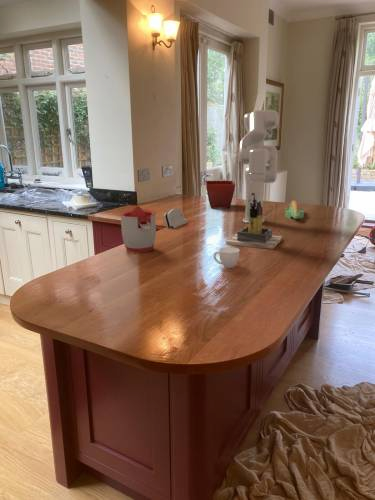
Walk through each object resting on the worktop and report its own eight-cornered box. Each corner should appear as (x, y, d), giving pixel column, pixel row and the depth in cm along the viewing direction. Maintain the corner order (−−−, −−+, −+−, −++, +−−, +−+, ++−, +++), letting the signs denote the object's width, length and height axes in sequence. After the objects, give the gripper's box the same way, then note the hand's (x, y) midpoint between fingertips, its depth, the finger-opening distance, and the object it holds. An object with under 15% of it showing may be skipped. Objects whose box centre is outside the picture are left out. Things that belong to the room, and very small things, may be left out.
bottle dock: (238, 235, 204) (238, 224, 203) (282, 239, 195) (282, 228, 193) (226, 244, 189) (226, 232, 187) (273, 249, 179) (273, 237, 178)
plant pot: (234, 209, 271) (235, 183, 266) (206, 209, 271) (206, 184, 266) (232, 204, 289) (232, 180, 284) (205, 204, 289) (205, 180, 284)
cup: (239, 269, 154) (239, 253, 152) (213, 269, 155) (213, 252, 153) (239, 263, 161) (239, 247, 159) (214, 262, 162) (214, 246, 160)
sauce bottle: (246, 234, 194) (248, 192, 188) (259, 233, 195) (261, 192, 189) (250, 237, 188) (251, 195, 182) (263, 237, 188) (265, 194, 183)
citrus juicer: (130, 257, 170) (127, 211, 165) (117, 248, 185) (114, 204, 179) (164, 252, 177) (162, 207, 171) (149, 243, 192) (147, 201, 186)
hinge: (174, 228, 220) (168, 210, 219) (167, 230, 223) (161, 213, 221) (188, 222, 234) (182, 205, 233) (181, 224, 237) (175, 207, 236)
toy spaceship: (305, 223, 228) (306, 210, 226) (286, 222, 230) (287, 210, 228) (301, 212, 258) (302, 201, 256) (284, 211, 260) (285, 200, 258)
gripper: (254, 174, 192) (253, 212, 197) (243, 179, 177) (242, 219, 182) (269, 175, 189) (268, 213, 194) (259, 179, 174) (258, 220, 179)
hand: (255, 215), depth 188 cm, fingers closed on sauce bottle, 6 cm apart
